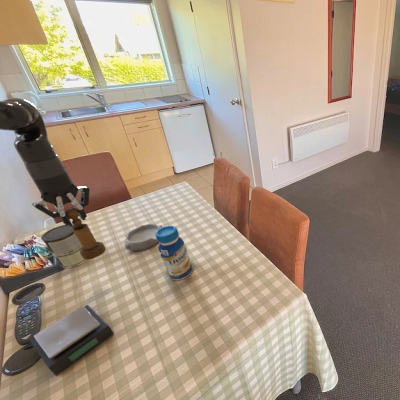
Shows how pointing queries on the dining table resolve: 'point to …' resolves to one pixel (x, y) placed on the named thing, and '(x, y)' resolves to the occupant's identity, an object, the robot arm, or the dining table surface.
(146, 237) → the dish
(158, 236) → the beverage bottle
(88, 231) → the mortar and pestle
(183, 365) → the dining table surface
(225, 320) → the dining table surface
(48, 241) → the coffee can
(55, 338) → the scale pan
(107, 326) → the scale
